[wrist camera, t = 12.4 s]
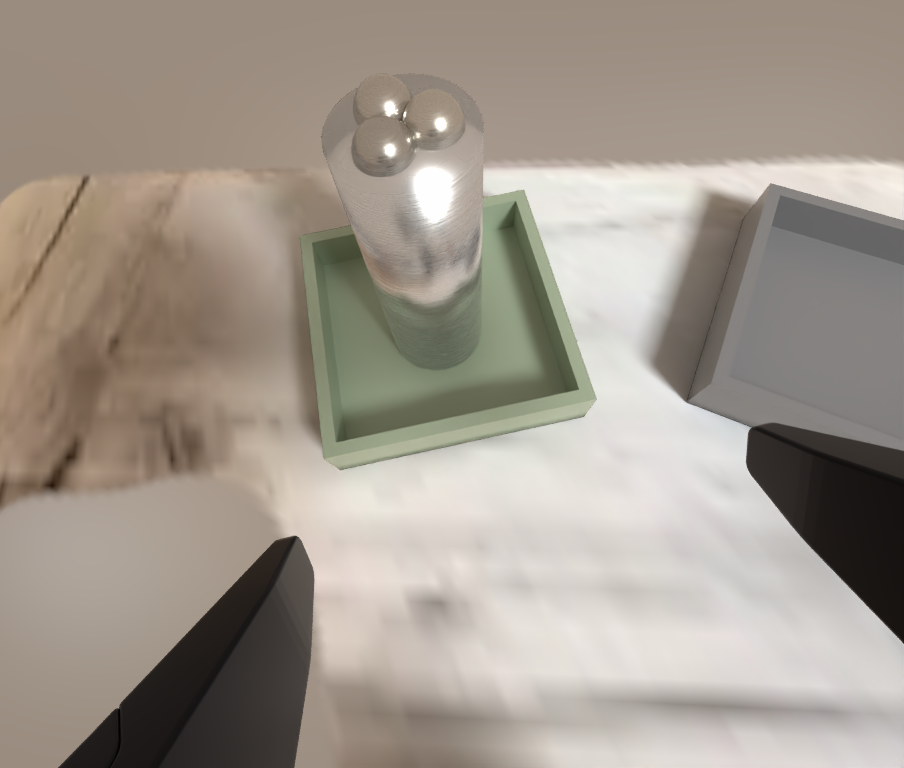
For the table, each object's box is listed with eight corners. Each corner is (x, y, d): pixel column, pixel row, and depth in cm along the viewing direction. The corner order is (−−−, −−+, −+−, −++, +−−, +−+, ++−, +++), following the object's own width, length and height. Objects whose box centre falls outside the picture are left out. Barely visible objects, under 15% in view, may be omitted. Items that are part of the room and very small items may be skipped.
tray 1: (584, 416, 23) (596, 399, 20) (340, 470, 22) (323, 458, 20) (519, 222, 27) (524, 189, 25) (315, 265, 27) (299, 235, 24)
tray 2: (966, 509, 20) (1032, 502, 18) (686, 402, 23) (711, 383, 20) (985, 290, 24) (1042, 259, 22) (743, 218, 26) (770, 183, 24)
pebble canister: (484, 367, 23) (490, 158, 11) (394, 373, 23) (305, 173, 11) (478, 289, 25) (477, 35, 13) (393, 295, 25) (315, 49, 13)
